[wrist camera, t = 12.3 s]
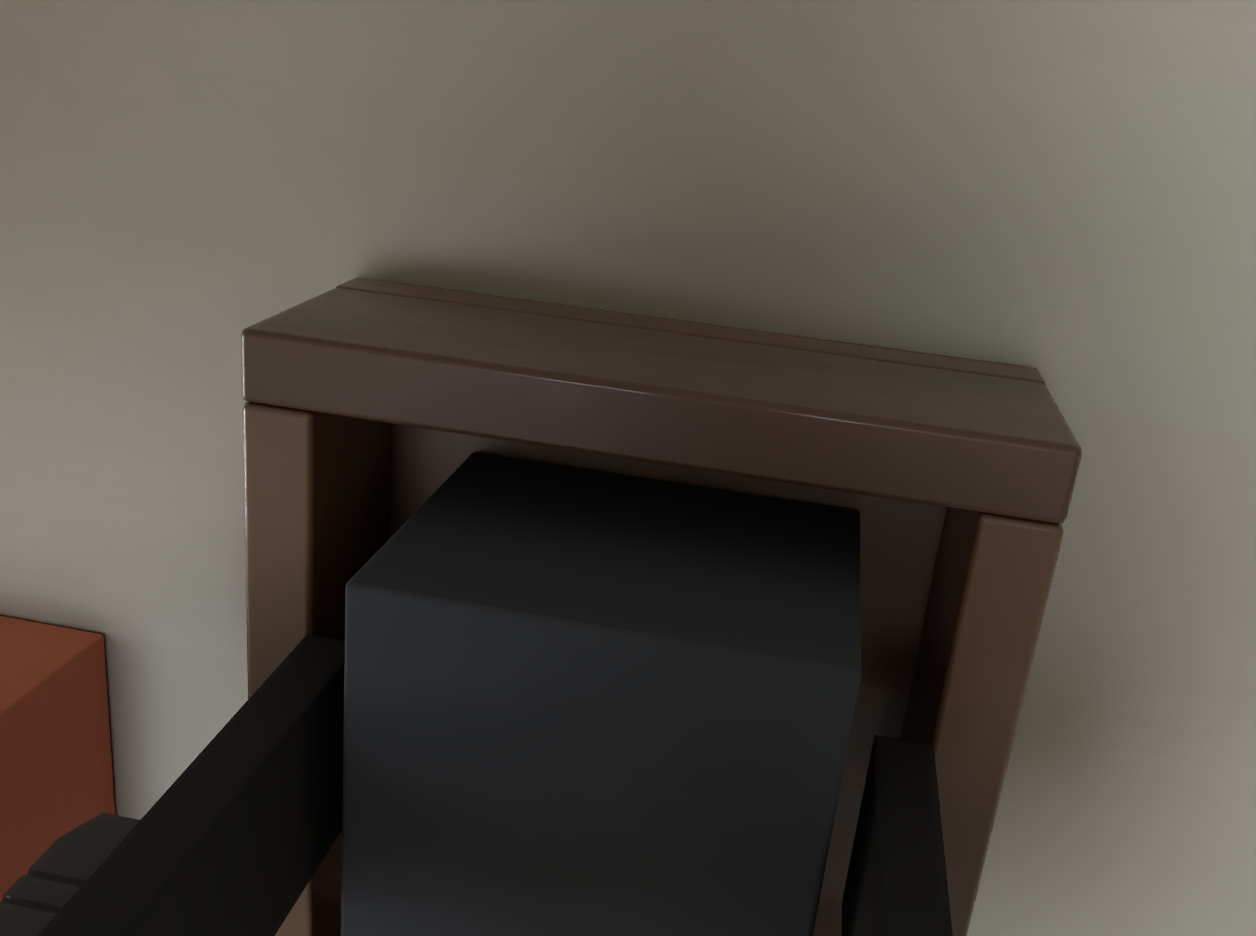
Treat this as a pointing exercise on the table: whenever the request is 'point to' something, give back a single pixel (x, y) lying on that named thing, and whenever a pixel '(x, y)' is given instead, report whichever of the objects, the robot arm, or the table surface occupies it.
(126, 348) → the table surface
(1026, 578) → the frame
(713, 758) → the dark gray rectangular block
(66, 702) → the reddish brown rectangular block
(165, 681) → the table surface
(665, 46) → the table surface
